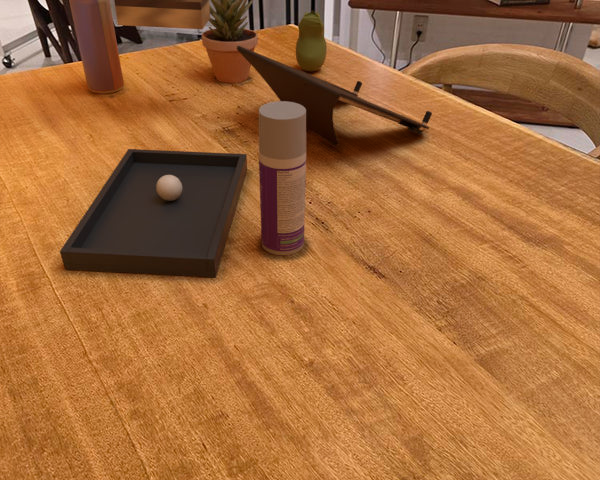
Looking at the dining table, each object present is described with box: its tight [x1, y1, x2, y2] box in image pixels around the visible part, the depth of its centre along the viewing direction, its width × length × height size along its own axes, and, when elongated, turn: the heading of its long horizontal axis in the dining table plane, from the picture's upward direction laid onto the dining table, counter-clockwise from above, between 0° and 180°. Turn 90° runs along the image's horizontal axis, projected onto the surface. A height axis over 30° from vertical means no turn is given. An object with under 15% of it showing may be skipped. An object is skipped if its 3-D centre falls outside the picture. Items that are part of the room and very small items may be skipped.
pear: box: [295, 10, 328, 73], centre depth 105 cm, size 6×5×10 cm
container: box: [258, 100, 307, 256], centre depth 60 cm, size 5×5×15 cm
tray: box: [59, 148, 248, 278], centre depth 68 cm, size 16×24×2 cm, turn 176°
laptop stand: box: [237, 46, 433, 147], centre depth 86 cm, size 23×23×9 cm
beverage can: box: [68, 0, 125, 95], centre depth 95 cm, size 6×6×15 cm
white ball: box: [156, 175, 182, 201], centre depth 69 cm, size 3×3×3 cm
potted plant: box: [201, 0, 259, 84], centre depth 98 cm, size 10×10×25 cm
